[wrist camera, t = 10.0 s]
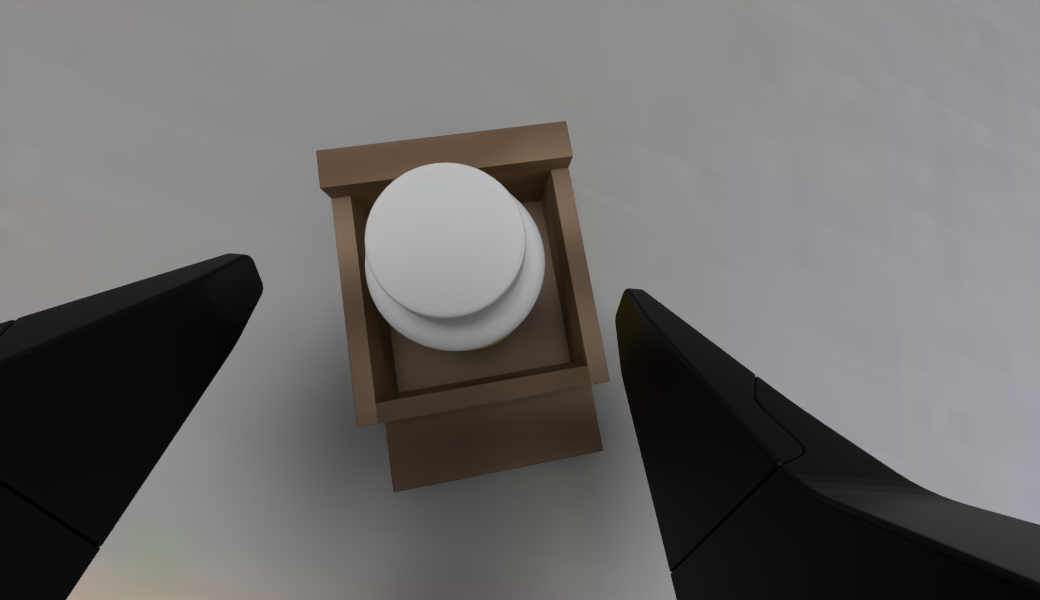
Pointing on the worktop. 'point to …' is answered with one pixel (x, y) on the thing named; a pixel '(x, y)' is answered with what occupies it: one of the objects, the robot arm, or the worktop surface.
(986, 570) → the robot arm
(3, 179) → the worktop surface
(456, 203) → the supplement bottle
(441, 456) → the open wooden box
